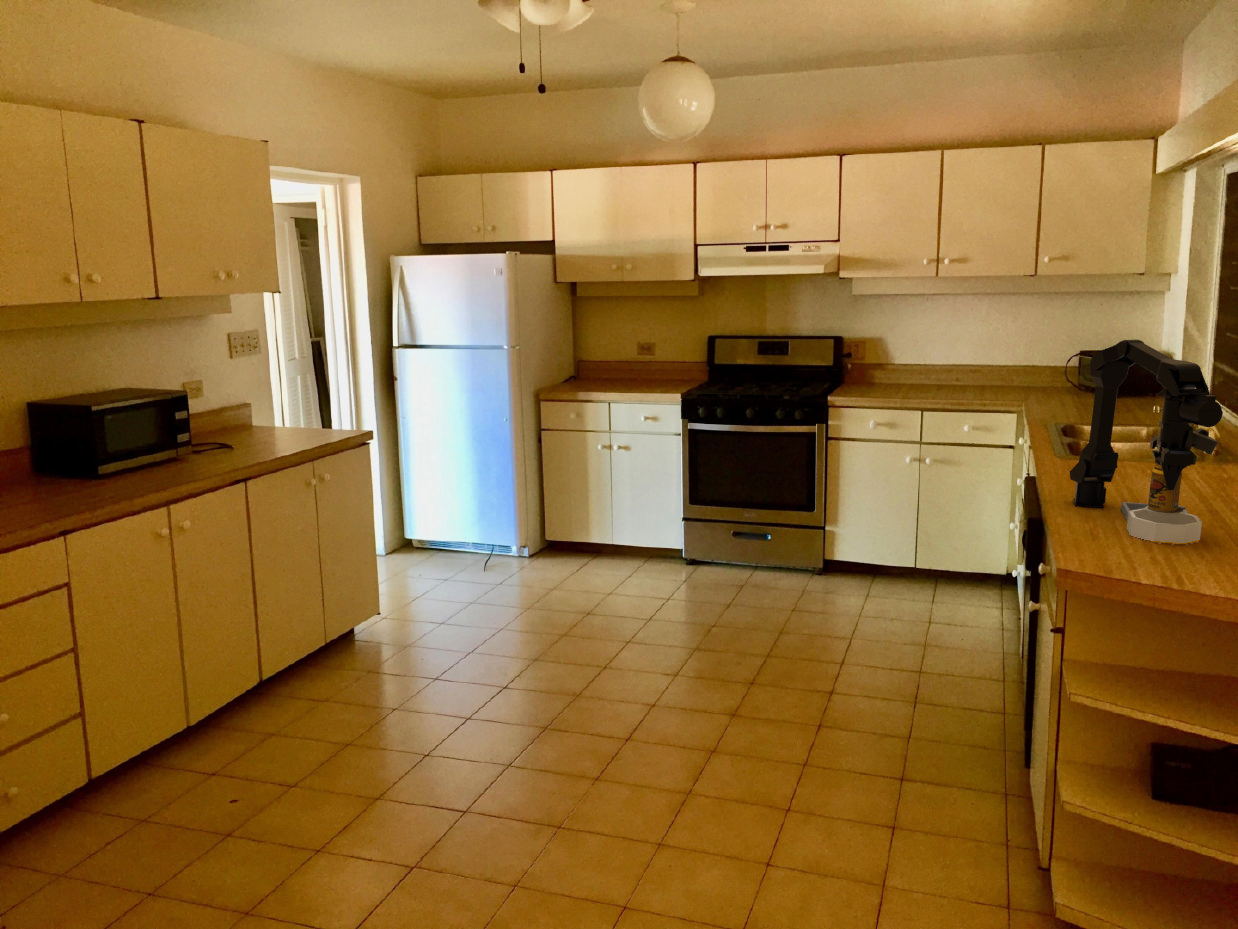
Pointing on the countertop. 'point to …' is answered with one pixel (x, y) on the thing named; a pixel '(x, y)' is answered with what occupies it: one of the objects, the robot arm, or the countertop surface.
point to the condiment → (1163, 493)
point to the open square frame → (1135, 508)
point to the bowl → (1164, 526)
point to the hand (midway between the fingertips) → (1167, 486)
